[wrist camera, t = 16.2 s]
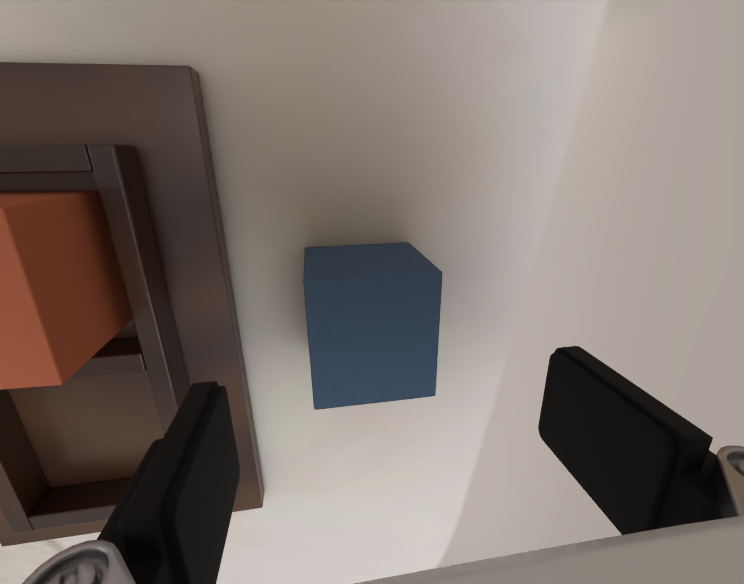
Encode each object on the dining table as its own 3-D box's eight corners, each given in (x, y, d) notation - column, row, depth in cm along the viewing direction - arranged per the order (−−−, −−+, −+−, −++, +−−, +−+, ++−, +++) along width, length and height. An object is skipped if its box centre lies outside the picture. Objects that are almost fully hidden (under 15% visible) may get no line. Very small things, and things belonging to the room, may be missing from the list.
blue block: (304, 247, 16) (303, 280, 12) (408, 242, 16) (443, 271, 12) (312, 349, 17) (314, 410, 13) (406, 341, 18) (435, 396, 14)
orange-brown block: (-52, 190, 12) (-240, 209, 8) (100, 189, 13) (1, 206, 9) (0, 327, 14) (-131, 400, 10) (132, 319, 15) (62, 385, 10)
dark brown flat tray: (-217, 64, 11) (-354, 41, 9) (198, 71, 13) (174, 53, 11) (17, 527, 18) (-26, 581, 16) (264, 491, 20) (258, 535, 18)
